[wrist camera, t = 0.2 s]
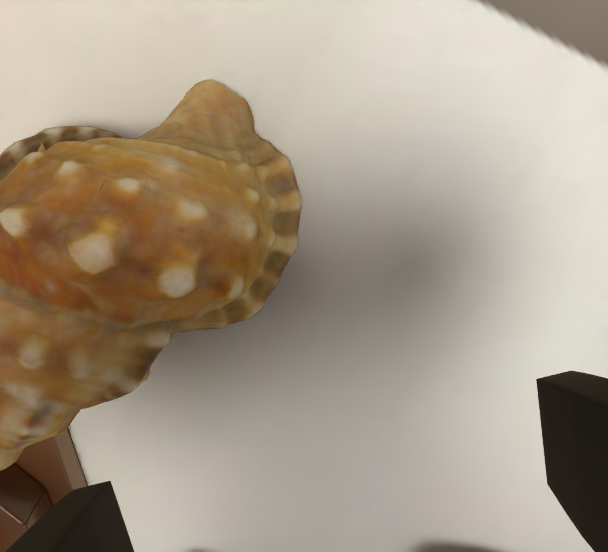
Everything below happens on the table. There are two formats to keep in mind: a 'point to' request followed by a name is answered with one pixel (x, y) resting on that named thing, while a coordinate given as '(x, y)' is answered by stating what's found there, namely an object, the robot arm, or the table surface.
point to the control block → (36, 485)
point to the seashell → (130, 252)
